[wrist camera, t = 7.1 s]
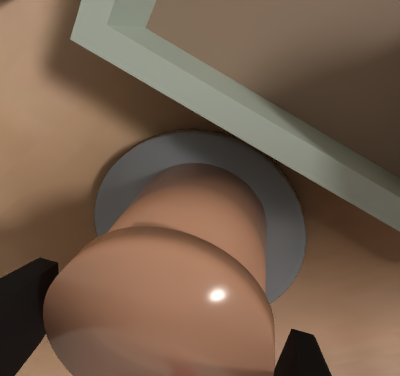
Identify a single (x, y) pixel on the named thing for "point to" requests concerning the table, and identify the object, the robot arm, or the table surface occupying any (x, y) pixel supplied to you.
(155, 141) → the slate saucer
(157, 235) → the tan jar
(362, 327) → the table surface
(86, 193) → the table surface
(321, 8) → the green square tray
